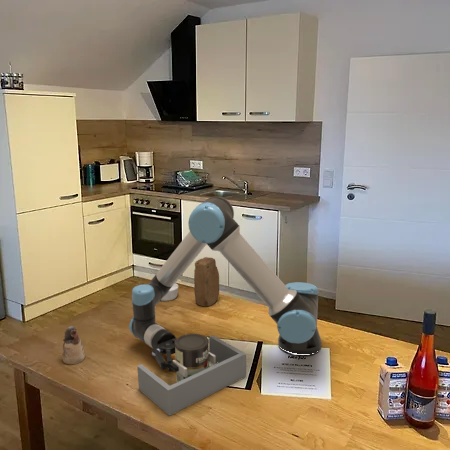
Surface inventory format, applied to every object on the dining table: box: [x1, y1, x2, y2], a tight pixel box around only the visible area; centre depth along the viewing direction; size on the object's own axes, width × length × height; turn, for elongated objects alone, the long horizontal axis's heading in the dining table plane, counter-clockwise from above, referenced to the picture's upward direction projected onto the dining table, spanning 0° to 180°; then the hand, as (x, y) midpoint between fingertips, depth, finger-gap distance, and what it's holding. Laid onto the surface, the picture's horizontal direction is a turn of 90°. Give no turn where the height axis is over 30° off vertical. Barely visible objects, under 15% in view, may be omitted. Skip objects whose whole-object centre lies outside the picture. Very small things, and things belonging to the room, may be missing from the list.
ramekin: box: [160, 282, 179, 302], centre depth 208 cm, size 11×11×5 cm
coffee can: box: [174, 333, 210, 383], centre depth 141 cm, size 10×10×14 cm
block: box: [193, 256, 220, 307], centre depth 199 cm, size 11×8×20 cm
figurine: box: [62, 325, 86, 365], centre depth 156 cm, size 7×7×12 cm
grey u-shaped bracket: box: [136, 334, 247, 417], centre depth 142 cm, size 16×29×8 cm, turn 131°
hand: (200, 366), depth 138 cm, fingers closed on coffee can, 10 cm apart
